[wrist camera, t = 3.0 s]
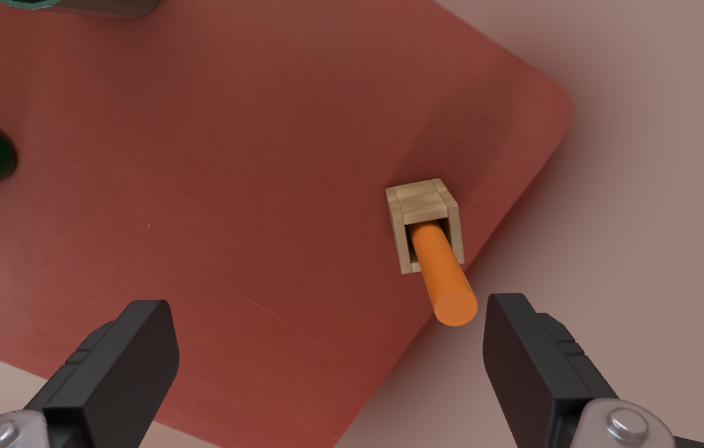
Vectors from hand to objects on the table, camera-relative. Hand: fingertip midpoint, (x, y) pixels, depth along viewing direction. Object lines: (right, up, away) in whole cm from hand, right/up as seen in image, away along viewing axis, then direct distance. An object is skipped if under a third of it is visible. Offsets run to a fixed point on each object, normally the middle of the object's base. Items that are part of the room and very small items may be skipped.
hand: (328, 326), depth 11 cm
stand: (+6, +4, +28) cm, 29 cm away
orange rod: (+6, +4, +28) cm, 29 cm away
